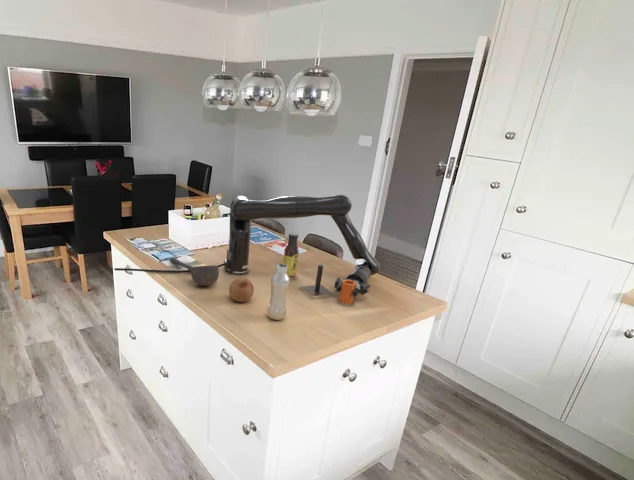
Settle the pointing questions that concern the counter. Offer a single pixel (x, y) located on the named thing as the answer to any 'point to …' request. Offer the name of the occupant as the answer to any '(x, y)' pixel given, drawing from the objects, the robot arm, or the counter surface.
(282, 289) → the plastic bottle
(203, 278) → the ladle
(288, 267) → the sauce bottle
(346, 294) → the orange grooved tube
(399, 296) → the counter surface
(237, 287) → the onion
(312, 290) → the stand
